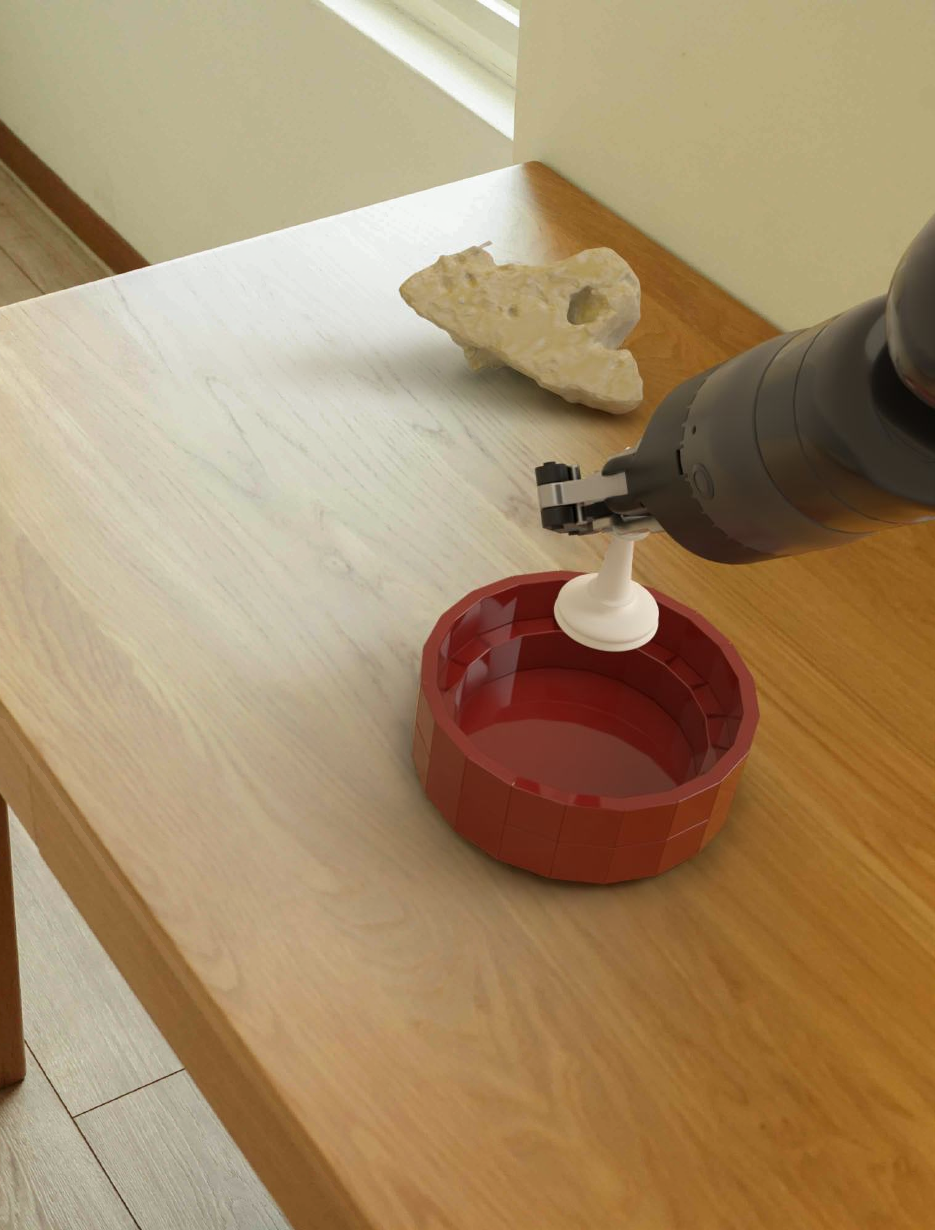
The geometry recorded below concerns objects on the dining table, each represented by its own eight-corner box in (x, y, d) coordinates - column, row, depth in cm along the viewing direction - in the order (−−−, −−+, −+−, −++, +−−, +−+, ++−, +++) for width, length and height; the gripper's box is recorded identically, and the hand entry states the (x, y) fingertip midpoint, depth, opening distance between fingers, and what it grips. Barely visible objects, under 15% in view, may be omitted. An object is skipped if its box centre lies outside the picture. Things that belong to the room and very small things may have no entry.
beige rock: (666, 394, 109) (566, 208, 109) (701, 372, 102) (594, 173, 102) (480, 493, 108) (379, 304, 108) (503, 478, 100) (395, 275, 100)
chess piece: (619, 667, 70) (661, 494, 64) (533, 616, 73) (564, 444, 66) (677, 616, 73) (723, 446, 67) (592, 568, 76) (628, 399, 69)
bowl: (658, 635, 88) (679, 555, 84) (785, 862, 76) (817, 782, 72) (377, 671, 84) (385, 589, 80) (463, 914, 73) (477, 832, 69)
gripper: (947, 328, 56) (733, 416, 73) (588, 360, 53) (453, 443, 70) (976, 533, 56) (754, 573, 73) (616, 575, 53) (474, 606, 70)
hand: (607, 509), depth 71 cm, fingers closed on chess piece
